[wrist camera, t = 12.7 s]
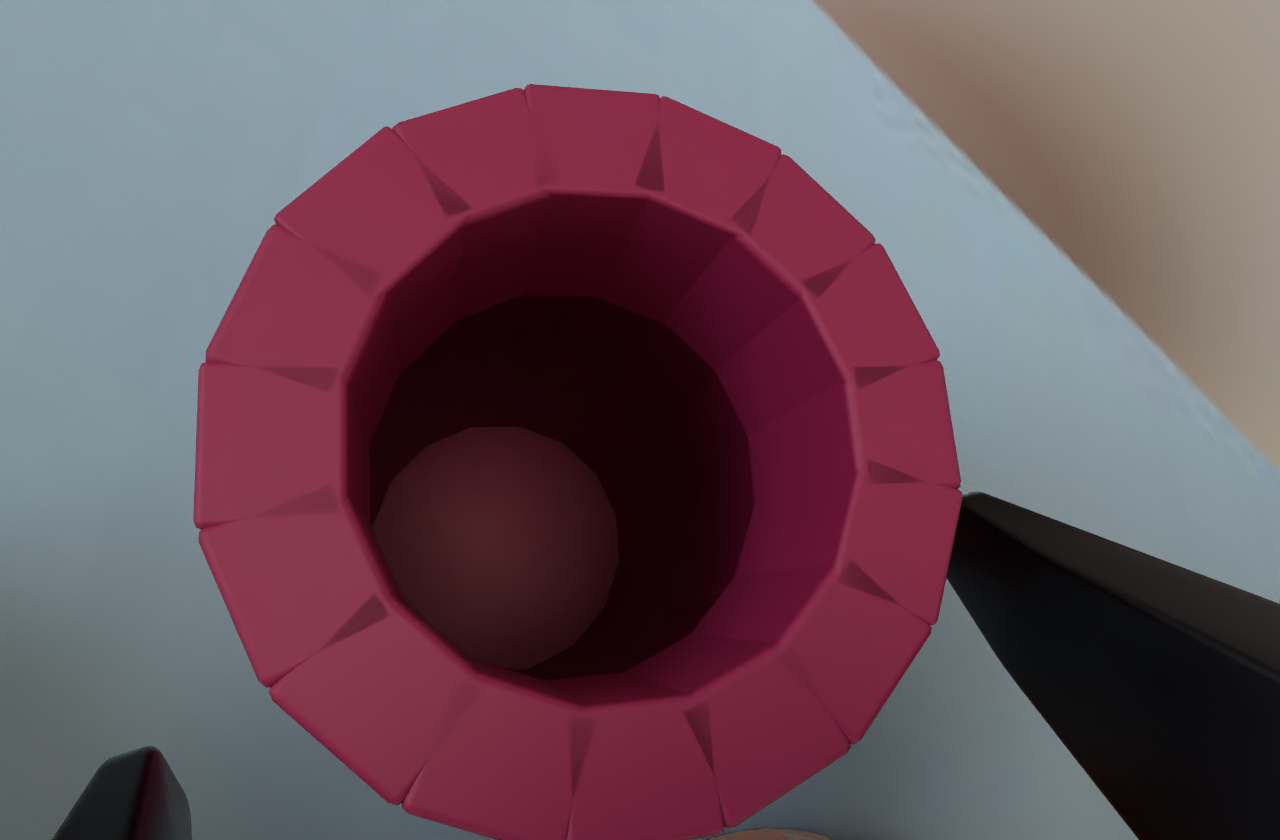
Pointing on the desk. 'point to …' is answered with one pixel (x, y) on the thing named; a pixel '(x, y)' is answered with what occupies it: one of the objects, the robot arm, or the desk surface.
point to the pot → (771, 835)
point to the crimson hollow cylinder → (576, 468)
